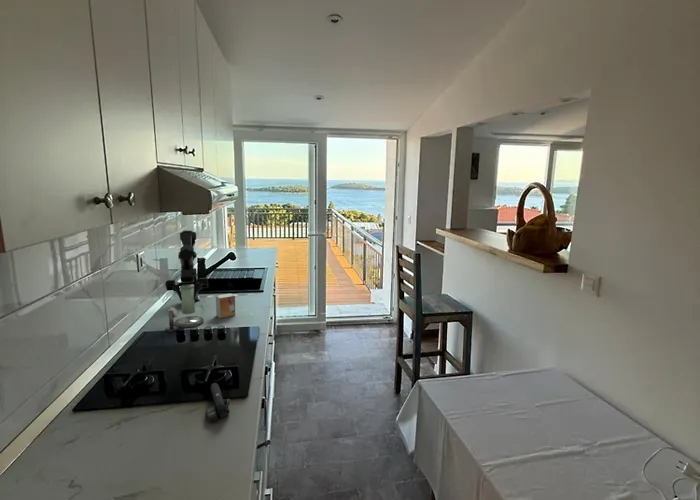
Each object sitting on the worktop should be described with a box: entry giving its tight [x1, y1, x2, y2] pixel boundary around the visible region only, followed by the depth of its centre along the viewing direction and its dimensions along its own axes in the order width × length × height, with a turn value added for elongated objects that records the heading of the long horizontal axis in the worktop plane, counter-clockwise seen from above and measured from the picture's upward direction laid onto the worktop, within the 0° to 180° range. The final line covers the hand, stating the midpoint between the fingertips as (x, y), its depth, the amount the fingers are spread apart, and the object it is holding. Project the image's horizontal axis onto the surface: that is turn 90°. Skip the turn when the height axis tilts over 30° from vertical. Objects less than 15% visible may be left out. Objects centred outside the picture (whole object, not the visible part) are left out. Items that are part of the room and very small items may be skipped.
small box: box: [215, 292, 236, 319], centre depth 192 cm, size 8×6×10 cm
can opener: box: [205, 382, 231, 423], centre depth 115 cm, size 18×7×6 cm, turn 23°
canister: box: [180, 284, 196, 315], centre depth 180 cm, size 6×6×13 cm
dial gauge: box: [164, 306, 180, 333], centre depth 172 cm, size 4×5×10 cm
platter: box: [174, 315, 205, 329], centre depth 182 cm, size 13×13×1 cm
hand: (187, 299), depth 179 cm, fingers closed on canister, 6 cm apart
